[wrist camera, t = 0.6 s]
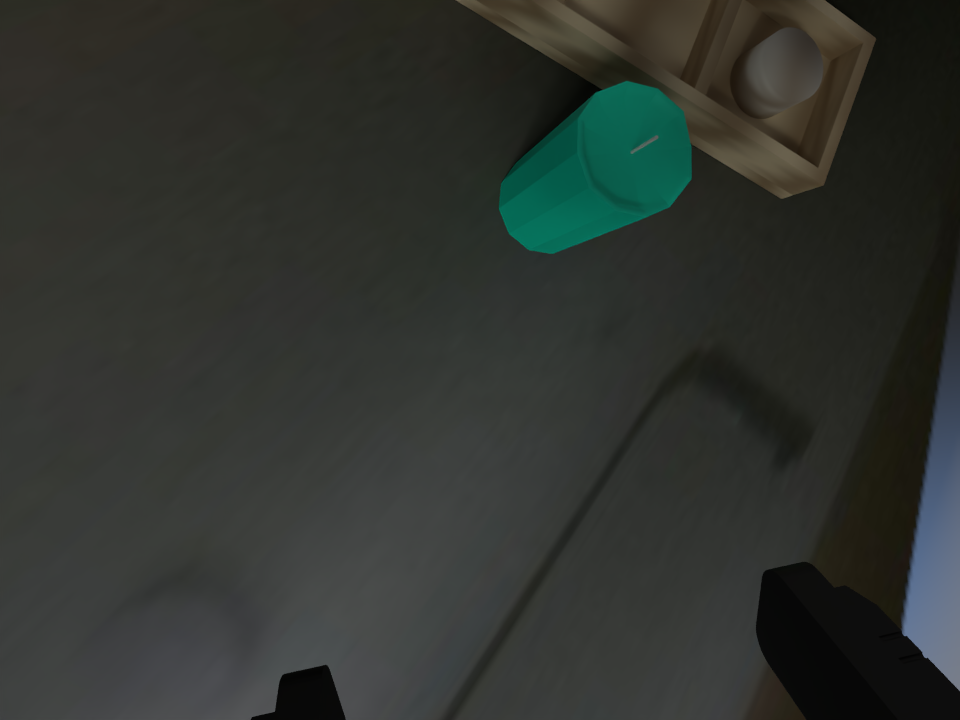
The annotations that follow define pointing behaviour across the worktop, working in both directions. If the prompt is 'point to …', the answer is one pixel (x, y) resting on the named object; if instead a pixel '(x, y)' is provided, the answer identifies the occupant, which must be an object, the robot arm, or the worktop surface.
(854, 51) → the tray
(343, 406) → the worktop surface
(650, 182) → the candle
